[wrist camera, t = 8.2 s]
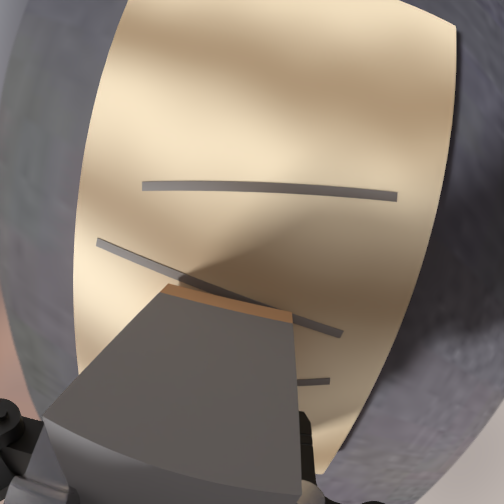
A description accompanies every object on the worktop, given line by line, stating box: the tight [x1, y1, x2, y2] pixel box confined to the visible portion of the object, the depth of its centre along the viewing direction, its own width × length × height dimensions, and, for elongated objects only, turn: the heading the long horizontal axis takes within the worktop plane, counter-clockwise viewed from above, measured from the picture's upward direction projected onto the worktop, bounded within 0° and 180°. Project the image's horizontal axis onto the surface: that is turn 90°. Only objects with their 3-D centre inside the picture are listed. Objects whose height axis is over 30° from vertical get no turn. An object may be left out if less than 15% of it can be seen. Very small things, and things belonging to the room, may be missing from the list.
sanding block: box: [42, 283, 302, 504], centre depth 7 cm, size 7×4×6 cm, turn 168°
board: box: [73, 0, 456, 474], centre depth 10 cm, size 20×12×1 cm, turn 168°
